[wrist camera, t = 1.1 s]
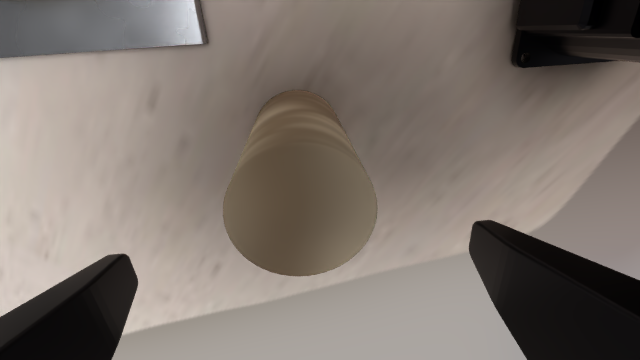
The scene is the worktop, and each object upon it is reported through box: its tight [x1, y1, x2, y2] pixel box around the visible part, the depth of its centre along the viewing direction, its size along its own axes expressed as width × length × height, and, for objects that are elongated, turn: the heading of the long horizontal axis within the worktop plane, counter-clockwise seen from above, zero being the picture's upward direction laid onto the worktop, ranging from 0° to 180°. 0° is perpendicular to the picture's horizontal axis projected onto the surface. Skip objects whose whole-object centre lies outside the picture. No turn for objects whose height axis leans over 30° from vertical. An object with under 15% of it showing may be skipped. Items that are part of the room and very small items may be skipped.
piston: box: [223, 90, 377, 276], centre depth 14 cm, size 5×5×9 cm
